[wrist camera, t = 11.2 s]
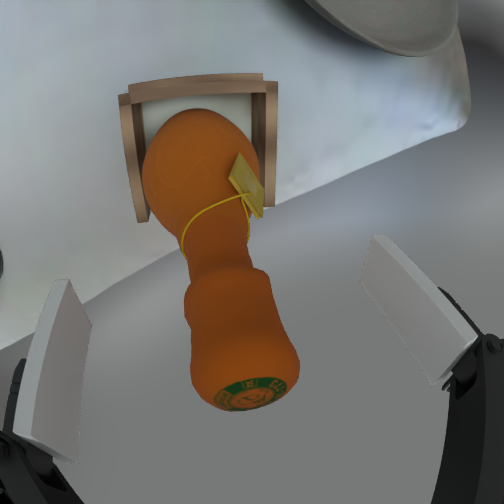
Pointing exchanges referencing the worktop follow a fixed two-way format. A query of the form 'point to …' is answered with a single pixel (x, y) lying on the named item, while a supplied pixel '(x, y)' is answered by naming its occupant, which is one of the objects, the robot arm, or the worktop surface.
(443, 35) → the bowl
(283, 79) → the worktop surface
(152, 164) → the wine bottle
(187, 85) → the walnut U-rest
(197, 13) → the worktop surface
